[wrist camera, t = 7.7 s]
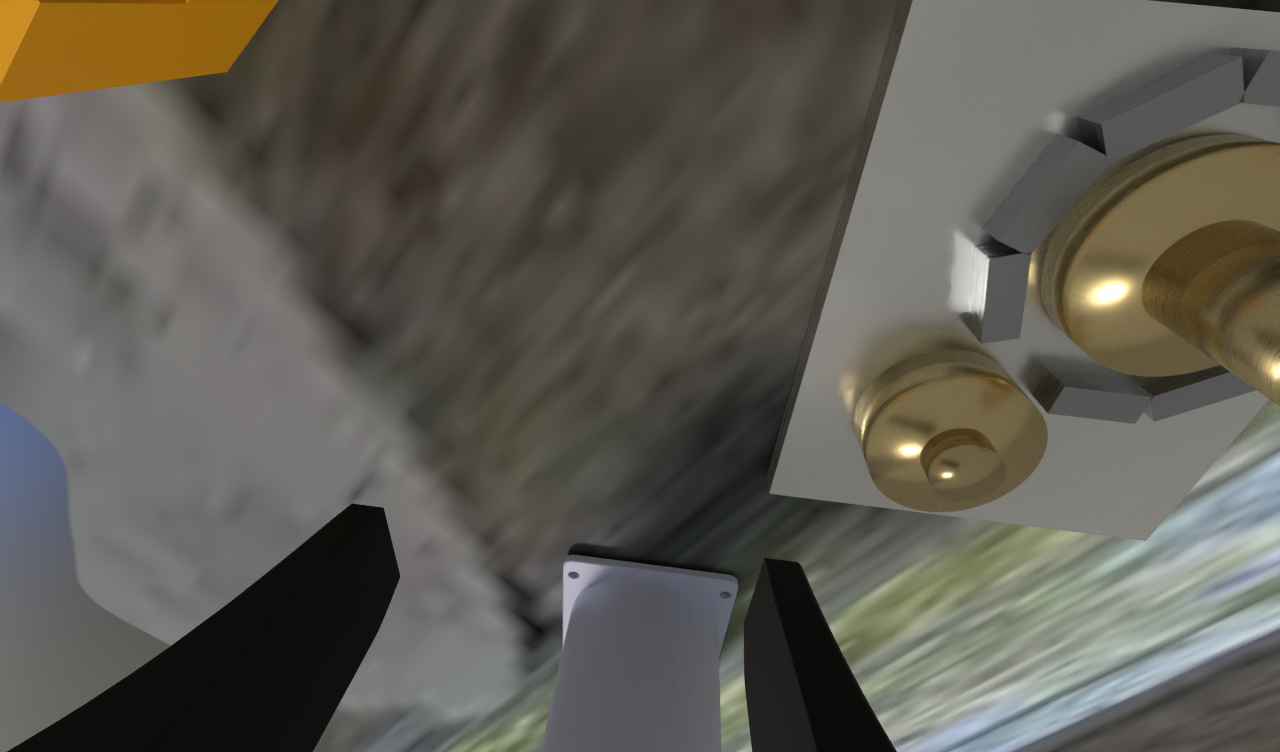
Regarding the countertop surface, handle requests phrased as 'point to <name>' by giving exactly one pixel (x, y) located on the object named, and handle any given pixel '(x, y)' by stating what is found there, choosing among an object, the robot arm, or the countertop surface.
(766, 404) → the countertop surface
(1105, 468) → the carrier
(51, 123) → the countertop surface
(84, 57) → the pipe clamp
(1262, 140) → the flanged cylinder knob
